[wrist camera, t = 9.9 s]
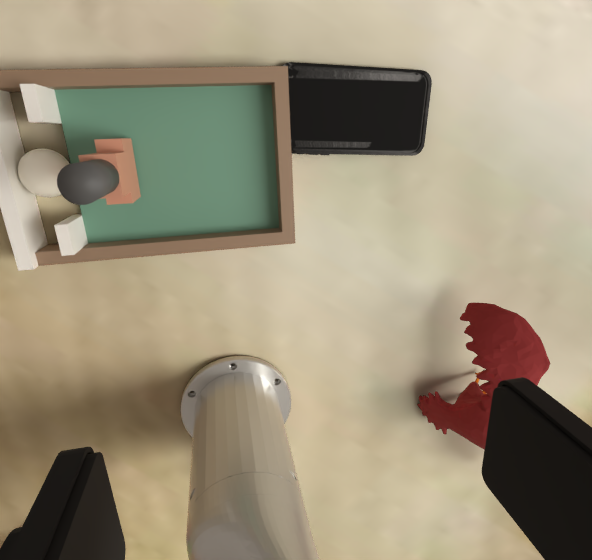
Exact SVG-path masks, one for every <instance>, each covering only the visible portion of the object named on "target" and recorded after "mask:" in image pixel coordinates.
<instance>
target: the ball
mask: <svg viewBox="0 0 592 560" xmlns="http://www.w3.org/2000/svg"><path fill="white" fill-rule="evenodd" d="M69 164H70V163H69V162H68V161H67V159H66V158H65V157H63V156H62V155H61V154H59V153H58V152H56V151H53V150H50V149H41V148H40V149H34V150H31V151H29V152H27V153H26V154H25V155H24V156H23V157H22V158H21V160H20V162H19V164H18V175H19V178H20V180H21V182H22V184H23V185H24V186H25V187H26V188H27V189H28V190H29V191H30V192H32V193H34V194H36V195H38V196H42V197H56V196H60V195H62V194H61V193H60V191H59V189H58V186H57V177H58V174H59V172H60V170H61V169H62V168H63V167H65V166H66V165H69Z"/></svg>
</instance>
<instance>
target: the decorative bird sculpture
mask: <svg viewBox="0 0 592 560" xmlns="http://www.w3.org/2000/svg"><path fill="white" fill-rule="evenodd" d="M460 320H463V321H469V322H470V325H469V326H468V327H467V328H466V330H465V331H464V333H466V334H468V335H469V336H471V337H472V338H473V341H472V342H468V343H466V347H467V349H468V350H470V351H473V352H475V353H476V354H477V355H478V356H477V357H476V358H474V360H473V361H472V363H473V364H476V365H479V366H481V367H483V368H485V369H486V370H483V371H482V372H481V373H480V372H479V373H475V374H477V376H476V377H477V379H476V381H475V382H471V383H470V384H469V385H468V387H467V388H466V389H465V390H464V391H463V392H462V393H461V394H460V395H459V397H458V399H457V401H456V403H455V404H453V405H452V404H450V403H447V402H445V401H444V400H442V399H441V398H440V396H439V394H438V392H437V391H435V396H434V395H433V394H431V393H430V392H429V393H428V396H429V398H428V397H427V396H425V395H423V397H422V396H419V401H420V403H419V404H417V405H418V407H419V408H420V409H421V410H422V414H423V415H424V416H426V417H427V418H428V423H431V422H432V423H434V425H435V427H436V430H439V429H442V431H443V434H446V432H447V429H451V430H453V431H455V432H456V433H458V434H460V435H461V436H463V437H465V438H466V439H468V440H469V441H471V442H472V443H474V444H476V445H477V446H479V447H481V448H483V449H485V444H486V437H487V430H488V423H489V417H490V410H491V403H492V396H493V391H494V389H495V388H497V387H498V384H499V383H500V381H503V380H509V379H515V378H521V377H523V378H527V379H529V380H530V381H531V382H533V383H534V384H535V385H538V383H539V381H540V379H541V377H542V376H543V375H544V373H545V372H546V371H547V370H548V368H549V365H550V362H549V359H548V357H547V354H546V351H545V348H544V346H543V343H542V341H541V339H540V337H539V336H538V335H537V334H536V333H535V331H534V330H533V328H532V327H531V326H530V324H529V323H528V322H527V321H526V320H525V319H524V318H523V317H521V316H520V315H518V314H517V313H514V312H511V311H509V310H506V309H503V308H501V307H499V306H496V305H494V304H487V303H469V304H468V305H467V308H466V310H465V313H463V314H462V315H461V317H460ZM479 379H481V380H487V381H489V382H487V383H484V384H482V385H481V386H480V387H479V385H478V381H479ZM481 390H483V391H481ZM486 393H487V394H486Z"/></svg>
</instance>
